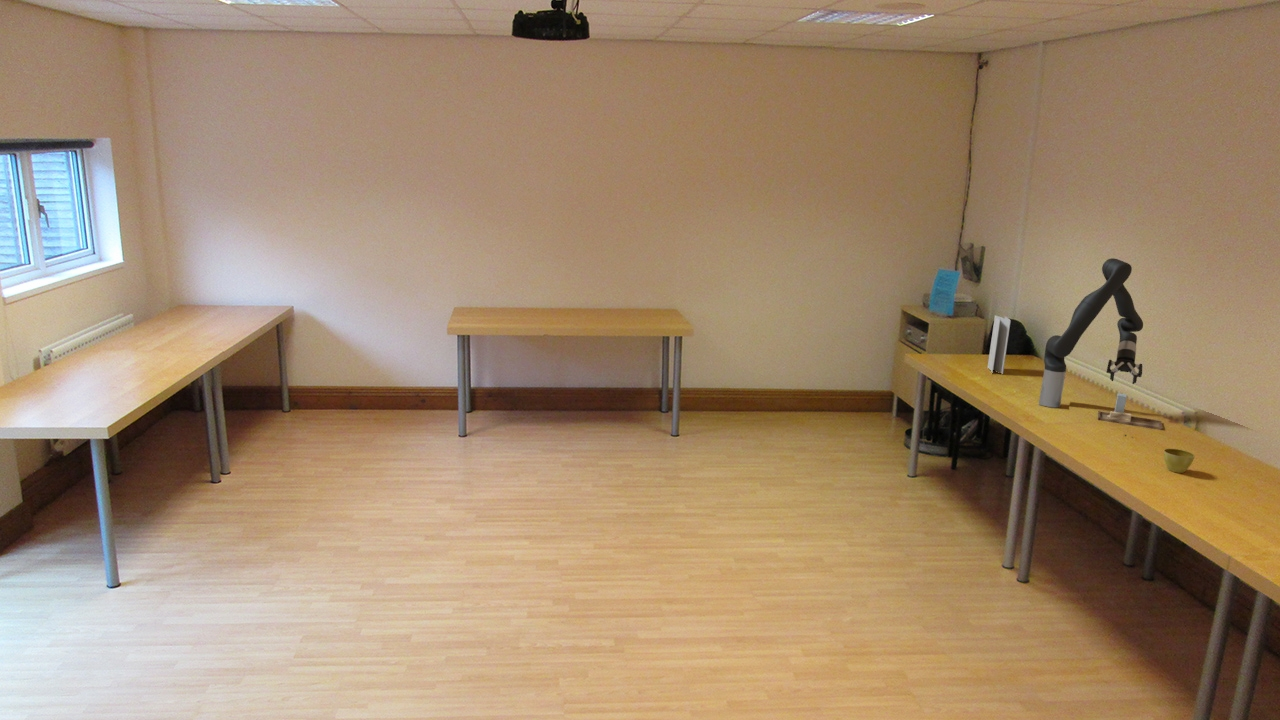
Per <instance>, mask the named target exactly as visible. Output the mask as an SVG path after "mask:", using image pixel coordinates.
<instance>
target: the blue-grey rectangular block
mask: <svg viewBox="0 0 1280 720" xmlns="http://www.w3.org/2000/svg"><path fill="white" fill-rule="evenodd" d="M1116 396H1117V397H1116V402H1115V406H1114V407H1115V408H1114V412H1121V413H1125V409H1126V402H1127V394H1126V393H1120V392H1119V393H1118V392H1117V394H1116Z"/></svg>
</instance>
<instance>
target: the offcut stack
mask: <svg viewBox="0 0 1280 720" xmlns="http://www.w3.org/2000/svg"><path fill="white" fill-rule="evenodd" d="M1114 411H1115V410H1114ZM1114 411H1112V410H1110V412H1109V413H1110V415H1107V419H1112V420H1118V421H1125V422H1130V421H1131V416H1132V413H1127V412H1124V413H1121V412H1114Z"/></svg>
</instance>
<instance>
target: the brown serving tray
mask: <svg viewBox="0 0 1280 720" xmlns="http://www.w3.org/2000/svg"><path fill="white" fill-rule="evenodd" d="M1107 415H1110V412H1106V411H1101V410H1099V411H1098V412H1097V420H1098V421H1102V422H1108V423H1114V424H1120V425H1128V426H1133V427H1139V428H1147V429H1152V430H1157V431H1158V430H1159V431H1163V429H1164V426H1163V423H1162V420H1160V419H1159V420H1158V419H1152V418H1146V417H1141V416H1140V417H1139V416H1133V415H1131V421H1130V422H1125V421H1118V420H1112V419H1107Z"/></svg>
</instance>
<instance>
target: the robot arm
mask: <svg viewBox="0 0 1280 720" xmlns="http://www.w3.org/2000/svg"><path fill="white" fill-rule="evenodd" d="M1132 268H1133V267H1132V265H1131V264H1130V263H1128V262H1126V261H1124V260H1121V259H1117V258H1114V257H1113V258H1108V259H1106V260H1105V262H1103V264H1102V266H1101V272H1102V274H1103V277H1104V279H1105V280H1106V281H1105V283H1104V284H1103V285H1101V286H1100V287H1099V288H1097V289H1096V290H1094V291H1092V292H1090V293H1089V294H1087V295H1086V296H1084V297H1083V299H1082V300H1081V301H1080V302H1079V303H1078V305H1077V306H1076V307H1075V310H1074V311H1073V314H1072V315H1071V316H1072V317H1071V320H1070V323H1069V325H1068V326H1067V328H1066V330H1065V331H1064V332H1063V334H1062V335H1058V334H1057V335H1051V336H1050V337H1049V338H1048V340H1047V341H1046V344H1045V348H1044V349H1045V350H1044V357H1043V361H1044V370H1043V374H1042V375H1043V377H1042V380H1041V382H1042V383H1041V388H1040V394H1039V399H1038V406H1042V407H1043V406H1044V407H1048V408H1060V407H1061V402H1062V397H1063V391H1064V384H1065V379H1066V372H1067V364H1066V361H1065V358H1066V357H1067V356H1069V355H1070V354H1071V353H1072V352H1073V350H1074V348H1075V347H1076V345H1077V344H1078V342H1079V341H1080V339H1081V337H1082V335H1084V332H1086V330H1088V328H1089V326H1090V325H1091V324H1092V323H1093V321H1094V320H1095V319H1096V318H1097V316H1099V314H1100V312H1101V311H1102V310H1103V308H1104V307H1105V305H1106V304H1107V303H1108V302H1109V301H1110V299H1111V298H1112V296H1113V300H1114V301H1115V305H1116V306H1115V307H1116V309H1117V313H1118V316H1119V317H1121V318H1120V319H1118V320H1117V325H1116V326H1117V329H1118V332H1119V343H1118V347H1117V354H1116V358H1115V359H1116V360H1115V361H1113V360H1112V359H1108V362H1107V368H1106V373H1107V374H1110V376H1109V377H1110V378H1109V379H1110V381H1111V382H1114V378H1115V374H1116V373H1118V372H1125V373H1129V374H1130V375H1131V376H1132V385H1135V384H1136V383H1137V381H1138V380H1137V379H1138V378H1141V377H1142V375H1143V363H1136V354H1137V341H1138V337H1137V334H1135V332H1138V333H1139V332H1141V331H1142V330H1143V328H1144V322H1143V320H1142V317H1141V316H1140V314H1139V313H1138V311H1137V310H1136V308H1135V305H1134V300H1133V297H1132V296H1131V294H1130V292H1129V291H1128V289H1127V288H1126V286H1125V285H1124V284H1125V282H1126V281H1127V280H1128V279H1129V277H1130V276H1131V274H1132V271H1133V269H1132ZM1113 365H1114V368H1112V369H1111V367H1113ZM1136 369H1137V370H1138V372H1137V371H1136Z"/></svg>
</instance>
